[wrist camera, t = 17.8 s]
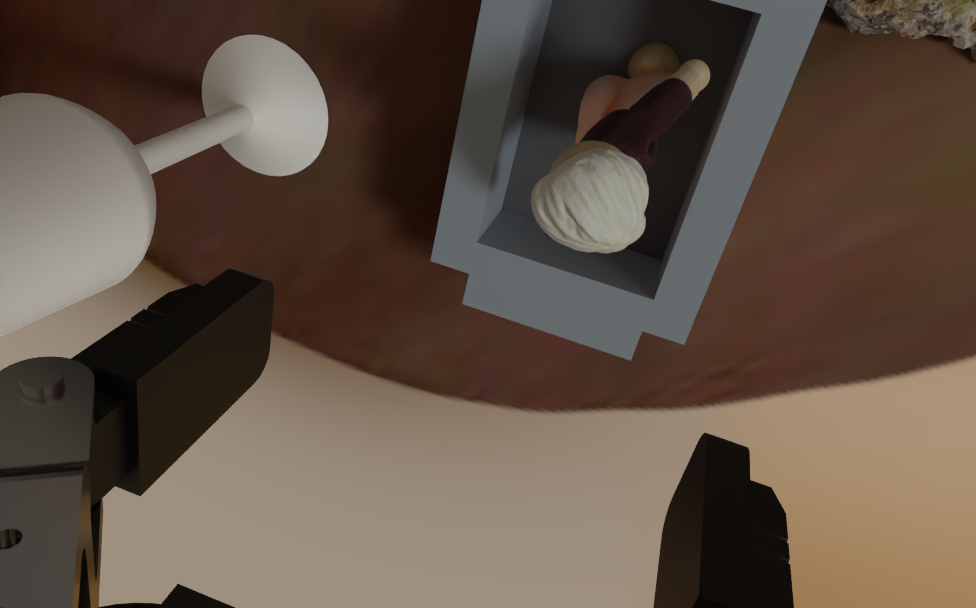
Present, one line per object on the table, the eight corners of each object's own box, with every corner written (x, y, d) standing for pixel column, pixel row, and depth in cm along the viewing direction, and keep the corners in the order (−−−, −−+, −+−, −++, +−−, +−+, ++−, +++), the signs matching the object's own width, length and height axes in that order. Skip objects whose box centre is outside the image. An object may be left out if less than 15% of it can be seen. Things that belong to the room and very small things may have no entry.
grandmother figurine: (641, -4, 29) (590, 48, 18) (727, 49, 29) (725, 132, 18) (544, 162, 33) (453, 285, 22) (619, 208, 33) (566, 354, 22)
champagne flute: (195, 24, 35) (-549, 184, 15) (328, 45, 34) (-284, 251, 13) (207, 163, 39) (-389, 453, 18) (329, 187, 37) (-163, 530, 17)
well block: (839, -76, 27) (858, -74, 23) (678, 323, 35) (671, 374, 32) (542, -150, 28) (513, -159, 24) (456, 251, 37) (424, 291, 33)
